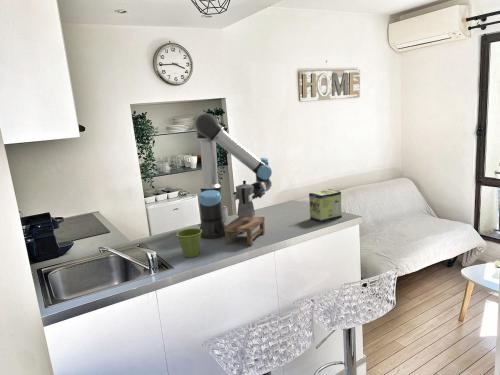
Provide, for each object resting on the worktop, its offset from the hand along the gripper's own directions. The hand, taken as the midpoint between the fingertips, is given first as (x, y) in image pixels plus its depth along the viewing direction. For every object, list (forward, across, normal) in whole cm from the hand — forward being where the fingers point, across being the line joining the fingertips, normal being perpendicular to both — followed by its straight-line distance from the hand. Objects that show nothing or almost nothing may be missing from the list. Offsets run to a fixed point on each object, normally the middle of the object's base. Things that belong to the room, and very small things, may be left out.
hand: (241, 198), depth 188 cm
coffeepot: (-4, 0, -10) cm, 11 cm away
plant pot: (+22, +18, -22) cm, 36 cm away
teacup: (-34, +29, -22) cm, 50 cm away
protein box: (-45, -33, -22) cm, 60 cm away
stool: (-3, 0, -22) cm, 22 cm away
